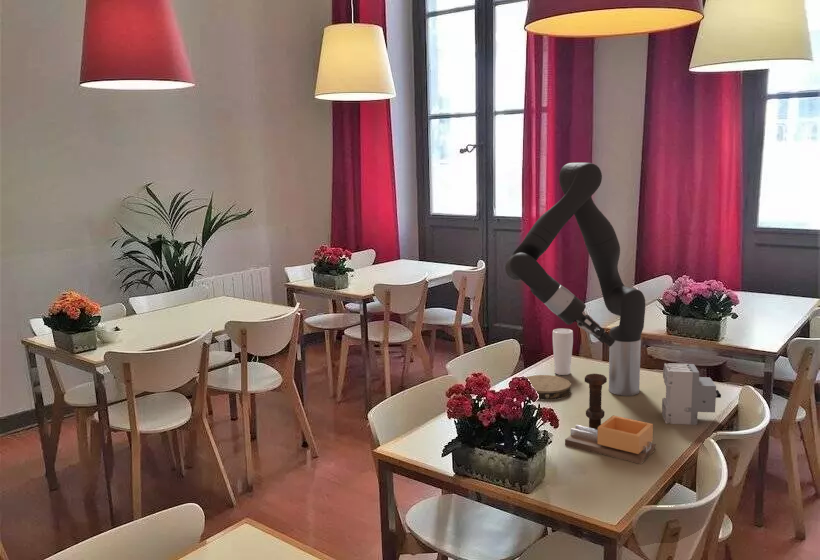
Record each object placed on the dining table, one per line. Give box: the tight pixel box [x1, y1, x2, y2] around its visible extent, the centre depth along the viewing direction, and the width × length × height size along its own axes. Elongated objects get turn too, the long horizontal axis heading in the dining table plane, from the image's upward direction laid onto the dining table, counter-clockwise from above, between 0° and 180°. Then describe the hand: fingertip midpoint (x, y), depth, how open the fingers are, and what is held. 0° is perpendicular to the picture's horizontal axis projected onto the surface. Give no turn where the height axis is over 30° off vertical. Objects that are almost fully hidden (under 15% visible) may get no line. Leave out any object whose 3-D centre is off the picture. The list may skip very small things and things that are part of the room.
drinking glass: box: [552, 328, 574, 376], centre depth 237 cm, size 7×7×15 cm
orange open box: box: [597, 415, 654, 454], centre depth 175 cm, size 10×10×4 cm
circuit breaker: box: [661, 362, 722, 426], centre depth 193 cm, size 8×14×15 cm, turn 78°
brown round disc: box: [525, 374, 572, 401], centre depth 221 cm, size 16×16×3 cm
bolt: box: [584, 373, 608, 429], centre depth 189 cm, size 6×5×15 cm
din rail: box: [570, 424, 652, 453], centre depth 178 cm, size 4×20×2 cm, turn 51°
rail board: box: [564, 434, 657, 465], centre depth 178 cm, size 10×20×2 cm, turn 51°
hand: (608, 342), depth 194 cm, fingers open, 8 cm apart
